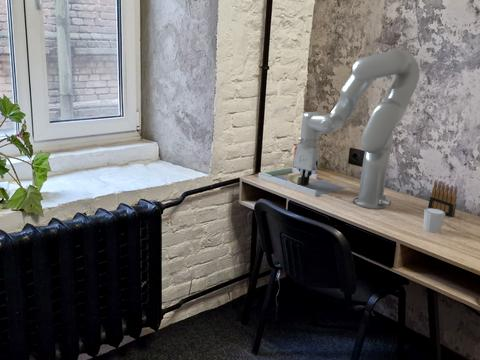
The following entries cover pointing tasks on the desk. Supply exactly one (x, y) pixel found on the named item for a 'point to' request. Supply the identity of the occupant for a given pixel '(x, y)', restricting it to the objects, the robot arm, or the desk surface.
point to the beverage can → (294, 155)
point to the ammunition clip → (443, 199)
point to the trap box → (312, 188)
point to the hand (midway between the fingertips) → (304, 184)
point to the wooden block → (294, 178)
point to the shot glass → (433, 220)
